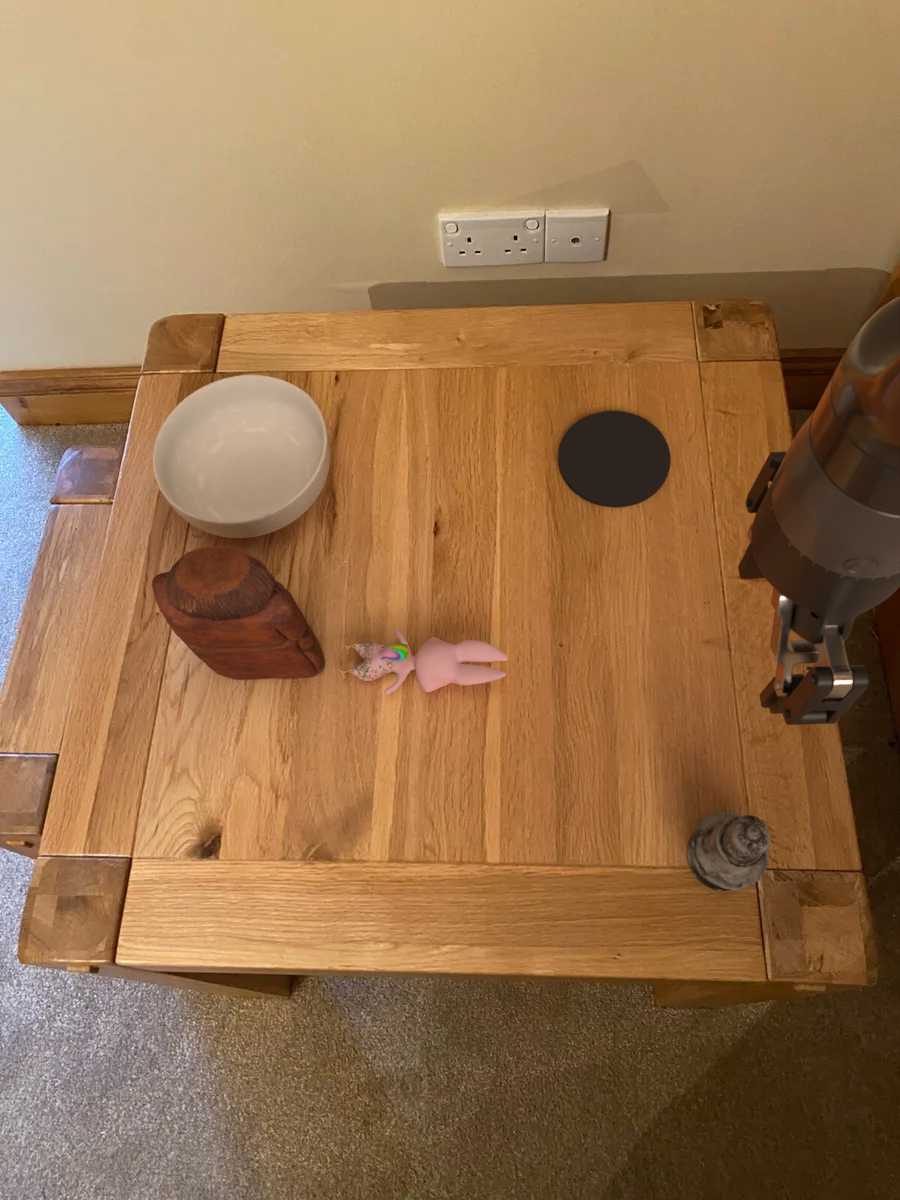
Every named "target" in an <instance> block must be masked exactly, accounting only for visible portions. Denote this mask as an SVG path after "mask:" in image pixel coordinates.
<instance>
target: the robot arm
mask: <svg viewBox="0 0 900 1200" xmlns="http://www.w3.org/2000/svg"><path fill="white" fill-rule="evenodd" d="M745 507H746V510H747V512H748V514H755V515H754V518H753V521H752V523H751V524H750V525H749V527H748V531H747V538H748V541H749V544H748V546H747V548H746V549H745V551H744V554H743V556H742V558H741V560H740V562H739V564H738V566H737V570H738V575H739V578H740V579H742V580H754V579H756V580H757V579H765V580H766V581H767V582H768V583H769V584H770V585H771V587H772V593H771V600H770V601H771V602H770V604H771V606H772V608H773V609H774V613H773V614H774V615H773V622H772V628H771V629H772V630H771V637H770V643H769V644H770V645H769V649H770V650H771V652H772V654H773V656H774V658H775V660H776V661H777V662H776V667H775V668H776V669H775V676H773V677H772V678H771V680H770V681H769V682H768V683H767V685H766V686H765V687H764V688H763V690H762V691H761V692H760V693H759V701H760V702H759V703H760V707H761V708H765V709H769V713H770V714H771V715H775V714H777V715H778V714H782V717H783V719H784V722H785V724H786V725H787V726H796V725H797V726H799V725H800V726H801V725H828V724H829V725H833V724H836V723H837V722H838V721H839V720H840V718H841V717H842V716H843V715H844V714H845V713H846V712H847V711H848V710H849V709H850V708H851V707H852V706H853V704H854V703H855V702H856V701H857V700H859V698H860V697H861V696H862V695H863V694H864V693H865V692H866V691H867V690H868V688H869V684H870V674H869V670H868V668H867V667H866V665H864V664H855V665H853V664H852V665H850V664H849V659H848V655H847V651H846V648H845V647H846V646H845V641H846V640H847V639H848V638H849V637H850V635H851V633H852V630H853V625H854V622H855V620H856V618H857V617H858V616H860V615H862V614H864V613H865V612H868V611H870V610H871V609H873V608H875V607H877V606H879V605H881V604H882V603H883V602H885V601H886V600H888V599H889V598H890V597H891V596H892V595H893V594H895V592H896V591H897V590H898V589H900V296H897V297H895V298H893V299H891V300H890V301H889V302H887V303H886V304H885V305H883V306H882V307H880V308H879V309H878V310H877V311H876V312H875V313H873V315H871V316H870V318H869V319H868V320H866V321H865V323H864V324H863V325H862V326H861V328H860V329H859V331H858V332H857V334H856V335H855V336H854V338H853V339H852V340H851V342H850V344H849V346H848V347H847V348H846V349H845V351H844V354H843V355H842V357H841V359H840V361H839V362H838V364H837V367H836V368H835V370H834V372H833V374H832V376H831V378H830V380H829V382H828V384H827V386H826V388H825V390H824V392H823V394H822V395H821V397H820V399H819V402H818V403H817V406H816V407H815V409H814V411H813V412H812V413H811V414H810V416H809V417H808V418H807V419H806V421H805V422H804V423H803V425H802V426H801V427H800V428H799V430H798V431H797V433H796V435H795V436H794V438H793V439H792V441H791V443H790V445H789V447H788V449H787V450H784V451H771V452H769V454H768V456H767V458H766V460H765V462H764V464H763V465H762V467H761V469H760V471H759V473H758V475H757V477H756V479H755V480H754V482H753V483H752V486H751V488H750V490H749V491H748V494H747V496H746V499H745ZM791 631H792V632H793V633H795V634H796V635H798V636H799V637H801V638H802V639H797V640H790V634H791ZM799 664H812V666H804V667H803V669H802V673H793V672H794V668H795V666H796V665H799Z"/></svg>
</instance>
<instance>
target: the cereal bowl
mask: <svg viewBox="0 0 900 1200" xmlns="http://www.w3.org/2000/svg"><path fill="white" fill-rule="evenodd" d="M331 454H332V453H331V441H330V437H329V432H328V427H327V423H326V419H325V418H324V415H323V413H322V411H321V409H320V407H319V406H318V404H317V403H316V401H315V400H314V399H313V398H312V397H311V396H310V395H309V394H308V393H307V392H306V391H305V390H303V389H302V388H300V387H299V386H297V385H295V384H294V383H291V382H289V381H286V380H284V379H281V378H278V377H275V376H269V375H263V374H241V375H233V376H229V377H224V378H220V379H218V380H214V381H213V382H210V383H208V384H206V385H204V386H202V387H200V388H198V389H196V390H195V391H192V393H190V394H189V395H187V396H186V397H185V398H184V399H182V400H181V401H180V402H179V403H178V404H177V405H176V406H175V407H174V408H173V409H172V410H171V412H170V413H169V414H168V416H167V417H166V418H165V420H164V421H163V423H162V424H161V426H160V428H159V430H158V432H157V435H156V438H155V441H154V445H153V449H152V471H153V476H154V479H155V481H156V485H157V487H158V489H159V491H160V493H161V494H162V495H163V497H164V499H165V500H166V501H167V503H168V505H169V506H170V507H171V508H172V509H173V511H175V513H177V515H178V516H179V517H181V518H182V519H183V520H184V521H186V522H187V523H188V524H190V525H191V526H193V527H195V528H197V529H199V530H201V531H203V532H204V533H208V534H211V535H214V536H219V537H221V538H222V537H223V538H231V539H249V538H254V537H255V538H257V537H261V536H264V535H269V534H271V533H273V532H277V531H278V530H281V529H282V528H285V527H287V526H289V525H290V524H291V523H293V522H295V521H296V520H297V519H299V518H300V517H301V516H302V515H303V514H305V513H306V511H309V509H310V508H311V506H312V505H313V504H314V503H315V501H316V500H317V499H318V498H319V496H320V494H321V492H322V490H323V489H324V487H325V484H326V482H327V479H328V475H329V471H330V467H331Z"/></svg>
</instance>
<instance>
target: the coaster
mask: <svg viewBox="0 0 900 1200" xmlns="http://www.w3.org/2000/svg"><path fill="white" fill-rule="evenodd" d="M671 458H672V456H671V450H670V447H669V444H668V442H667V440H666V438H665V436H664V435H663V433H662V431H660V430H659V428H658V427H656V426H655V424H653V423H652V422H651V421H649V420H647V419H646V418H644V417H642V416H639V415H638V414H635V413H632V412H629V411H622V410H604V411H597V412H594V413H591V414H588V415H585V416H584V417H582V418H580V419H578V421H576V422H575V423H573V424H572V425H571V426H570V427H569V428H568V429H567V430H566V432H565V433H564V435H563V437H562V438H561V441H560V443H559V446H558V452H557V463H558V464H557V465H558V469H559V472H560V475H561V477H562V480H563V481H564V482H565V484H566V485H567V486H568V487H569V489H570V490H571V491H572V492H573V493H574V494H576V495H577V496H579V497H580V498H581V499H583V500H585V501H587V502H590V503H591V504H594V505H596V506H597V505H598V506H602V507H607V508H624V507H630V506H634V505H637V504H640V503H641V502H644V501H646V500H648V499H649V498H651V497H652V496H653V495H655V494H656V493H657V492H658V491H659V490H660V489H661V487H662V486H663V485H664V483H665V481H666V479H667V478H668V475H669V472H670V469H671V462H672V459H671Z"/></svg>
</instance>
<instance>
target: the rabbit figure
mask: <svg viewBox="0 0 900 1200" xmlns="http://www.w3.org/2000/svg"><path fill="white" fill-rule="evenodd" d="M393 635H394V636H395V637H396V638H397V639H398V640H399V642H400V643H394V644H391V645H389V646H388V647H387V646H386V645H384V644H382V643H381V642H377V641H374V642H362V643H356V642H353V643H351V644H345V643H342V645H343V647H344V648H343V649H345V651H346V653H347V654H346V656H349V654H350V652H351V651H352V649H351V648H353V649H354V650H356V652H357V653H358V655H359V656H360V658H361V660H363V662H362V663H360V664H358V665H356V666H354V667H353V668H352V667H351V668H349V669H341V668H337V670H338V671H339V674H340V675H341V678H342V681H343V680H345V679H346V678H347V676H348V675H347V673H349V674H352V675H353V676H354V677H356V678H358V679H359V680H361V681H364V682H372V681H376V680H378V679H380V678H382V677H383V676H385V675H387V674H389V673H394V674H396V679H395V681H394V682H393V684H392V685H390V686H389V687H386V689H385V690H384V695H386V696H389V695H392V693H394V692H395V691H396V690H397V689H398V688H399V687H401V685H402V684H403V683H404V681H405V680H406V678H407V677H408V676H409V673H410V672H412V671H415V673H416V679H417V682H418V685H419V686H420V688H421V689H422V690H423V691H424V692H425V693H432V692H433V691H436V690H439V689H441V688H443V687H445V686H447V685H450V684H456V685H458V686H463V687H464V686H472V685H479V684H485V683H489V682H492V681H493V682H494V681H497V680H500V679H503V678H505V677H506V676H507V672H506V671H503V670H499V669H497V668H495V667H491V666H488V665H480V664H471V663H493V662H494V663H495V662H506V661H508V659H509V657H508V655H506V654H505V653H504V652H503V651H502V650H500V649H499V648H498V647H496V646H494V645H493V644H491V643H489V642H486V641H482V640H477V639H466V640H462V641H460V642H459V643H451V642H447V641H444V640H443V639H440V638H438V637H436V636H433V637H430V638H429V639H427V640H426V641H425V642H424V643H423V644H422V645H421V646H420V647H419V648H418V650H417V652H416V654H415V655H413V653H412V650H411V647H410V644H409V642H408V640H407V638H406V637H405V635H404V634H403V633H402V631H400V629H398V628H396V629H394V630H393Z"/></svg>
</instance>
